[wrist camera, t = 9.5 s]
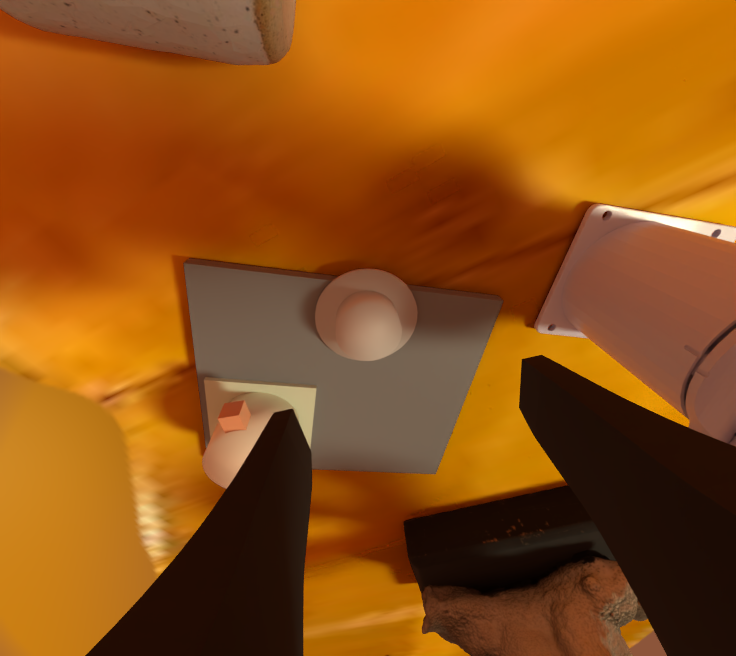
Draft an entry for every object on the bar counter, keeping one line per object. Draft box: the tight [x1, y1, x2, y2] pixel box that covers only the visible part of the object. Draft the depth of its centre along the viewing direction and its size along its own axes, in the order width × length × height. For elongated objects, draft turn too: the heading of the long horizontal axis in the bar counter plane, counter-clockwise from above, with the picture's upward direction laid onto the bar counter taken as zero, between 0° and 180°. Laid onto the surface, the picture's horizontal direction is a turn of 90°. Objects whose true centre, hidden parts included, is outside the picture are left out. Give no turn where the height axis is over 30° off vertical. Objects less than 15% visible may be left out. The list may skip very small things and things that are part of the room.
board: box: [183, 258, 503, 474], centre depth 22 cm, size 18×17×3 cm
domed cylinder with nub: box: [202, 392, 299, 489], centre depth 21 cm, size 6×5×4 cm
